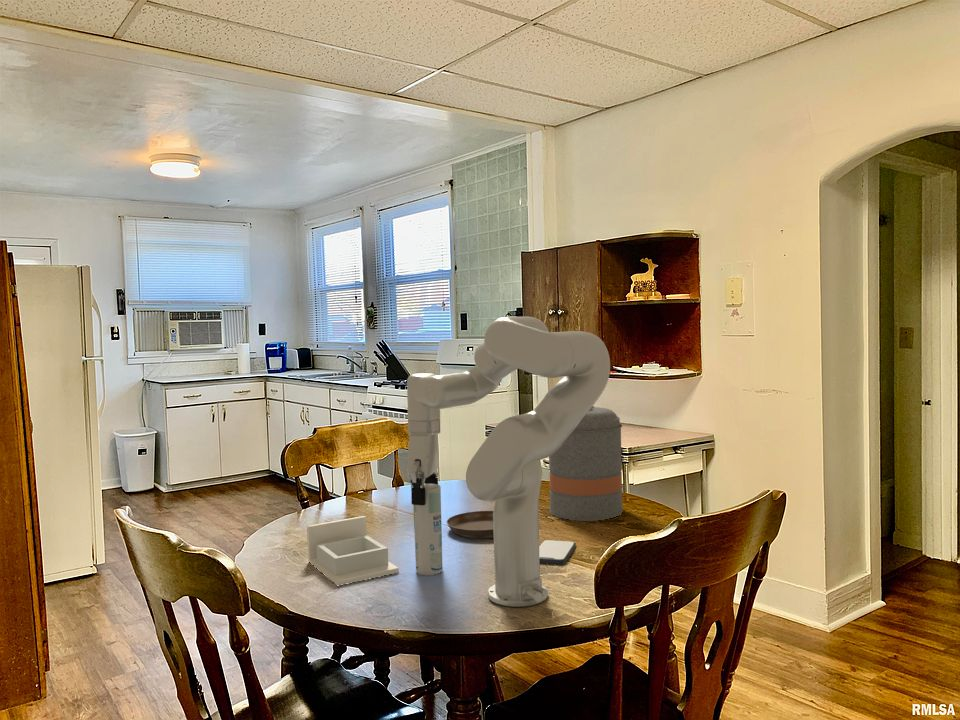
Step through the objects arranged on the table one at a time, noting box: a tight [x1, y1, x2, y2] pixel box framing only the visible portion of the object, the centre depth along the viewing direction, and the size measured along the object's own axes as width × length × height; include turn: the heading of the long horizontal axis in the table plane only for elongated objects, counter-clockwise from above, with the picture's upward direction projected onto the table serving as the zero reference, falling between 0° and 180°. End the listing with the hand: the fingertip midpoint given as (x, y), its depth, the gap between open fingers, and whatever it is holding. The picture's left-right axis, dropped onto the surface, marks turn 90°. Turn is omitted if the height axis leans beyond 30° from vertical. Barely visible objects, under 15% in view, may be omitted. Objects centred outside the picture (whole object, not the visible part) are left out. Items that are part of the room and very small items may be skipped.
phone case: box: [539, 539, 577, 566], centre depth 181 cm, size 9×2×16 cm
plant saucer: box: [446, 510, 494, 539], centre depth 203 cm, size 21×21×3 cm
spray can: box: [412, 483, 444, 576], centre depth 170 cm, size 6×6×20 cm
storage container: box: [548, 405, 624, 522], centre depth 219 cm, size 22×22×35 cm
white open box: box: [306, 515, 400, 586], centre depth 174 cm, size 20×15×9 cm
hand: (425, 499), depth 170 cm, fingers open, 9 cm apart
